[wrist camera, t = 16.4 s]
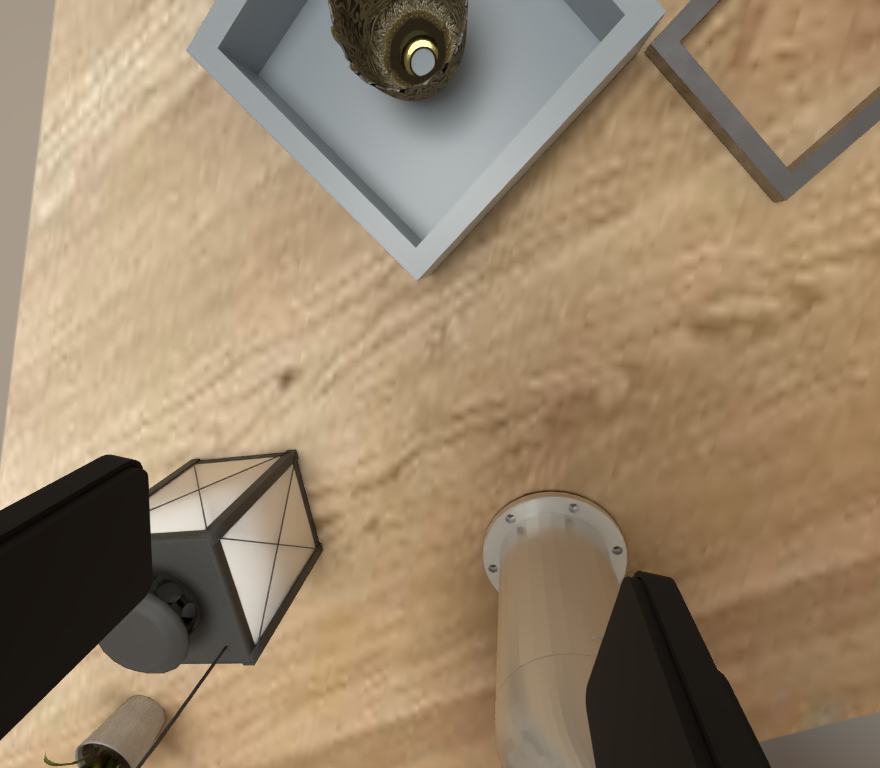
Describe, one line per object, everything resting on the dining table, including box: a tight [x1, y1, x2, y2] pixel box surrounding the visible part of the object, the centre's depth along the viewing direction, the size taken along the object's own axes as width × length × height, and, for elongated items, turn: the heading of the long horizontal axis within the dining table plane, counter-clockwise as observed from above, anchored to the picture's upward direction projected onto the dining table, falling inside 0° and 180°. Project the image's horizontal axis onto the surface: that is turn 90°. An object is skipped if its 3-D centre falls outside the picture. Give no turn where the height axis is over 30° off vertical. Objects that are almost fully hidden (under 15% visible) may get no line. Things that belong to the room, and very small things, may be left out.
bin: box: [186, 0, 666, 281], centre depth 30 cm, size 20×20×6 cm
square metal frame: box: [644, 0, 880, 202], centre depth 29 cm, size 13×13×2 cm
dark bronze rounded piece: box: [328, 0, 468, 101], centre depth 28 cm, size 8×7×8 cm
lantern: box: [99, 450, 323, 768], centre depth 33 cm, size 11×11×28 cm
